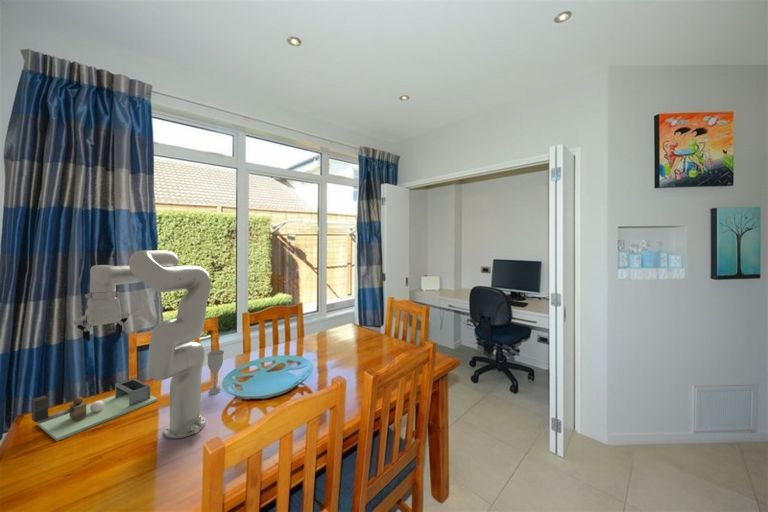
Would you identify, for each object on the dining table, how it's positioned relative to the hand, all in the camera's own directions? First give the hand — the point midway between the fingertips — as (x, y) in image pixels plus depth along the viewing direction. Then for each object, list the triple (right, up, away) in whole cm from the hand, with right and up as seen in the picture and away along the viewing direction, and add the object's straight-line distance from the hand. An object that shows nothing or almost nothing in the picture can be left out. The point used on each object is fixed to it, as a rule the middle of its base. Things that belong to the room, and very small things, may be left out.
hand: (103, 337), depth 120 cm
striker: (-3, -27, -14) cm, 31 cm away
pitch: (+3, -29, -3) cm, 29 cm away
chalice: (+37, -30, +16) cm, 50 cm away
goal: (+7, -29, +6) cm, 30 cm away
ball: (+2, -26, -5) cm, 26 cm away
